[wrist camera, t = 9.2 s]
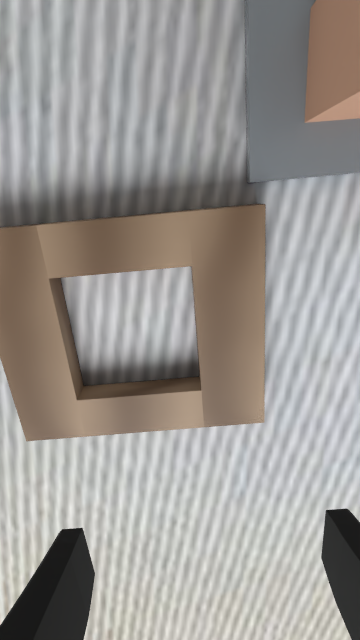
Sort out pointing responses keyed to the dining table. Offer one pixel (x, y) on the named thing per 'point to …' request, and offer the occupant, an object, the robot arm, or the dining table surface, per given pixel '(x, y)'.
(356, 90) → the block
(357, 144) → the coaster
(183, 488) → the dining table surface
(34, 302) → the pocket board
